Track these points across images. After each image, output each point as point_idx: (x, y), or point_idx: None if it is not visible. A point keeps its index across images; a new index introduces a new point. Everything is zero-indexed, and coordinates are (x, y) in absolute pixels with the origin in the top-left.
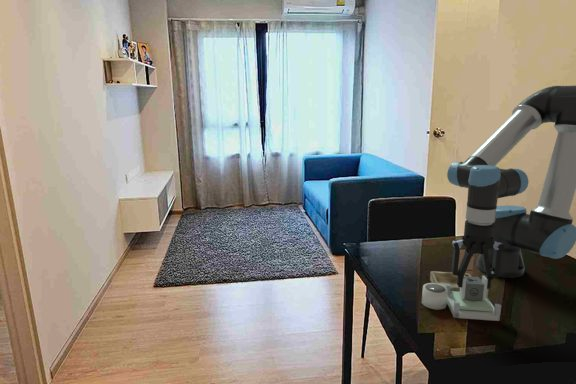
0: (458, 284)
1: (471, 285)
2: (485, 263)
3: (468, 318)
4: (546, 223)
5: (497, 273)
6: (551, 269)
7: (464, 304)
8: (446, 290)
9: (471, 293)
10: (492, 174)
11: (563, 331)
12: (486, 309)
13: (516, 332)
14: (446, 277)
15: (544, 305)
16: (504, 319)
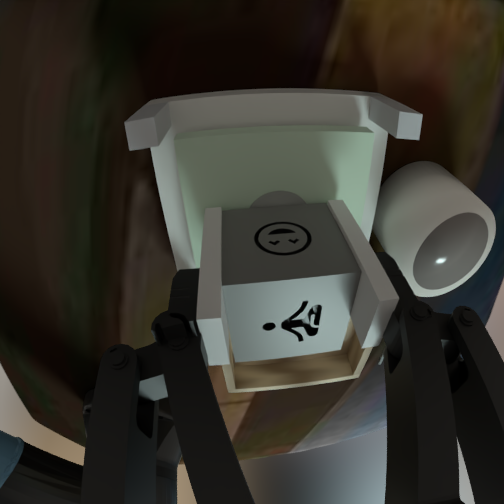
0: (396, 265)
1: (316, 267)
2: (238, 480)
3: (311, 89)
4: None
5: (111, 378)
6: (45, 403)
7: (338, 153)
8: (417, 242)
9: (296, 229)
10: None
11: None
12: (212, 133)
13: (95, 17)
14: (305, 367)
15: (8, 275)
16: (124, 123)
